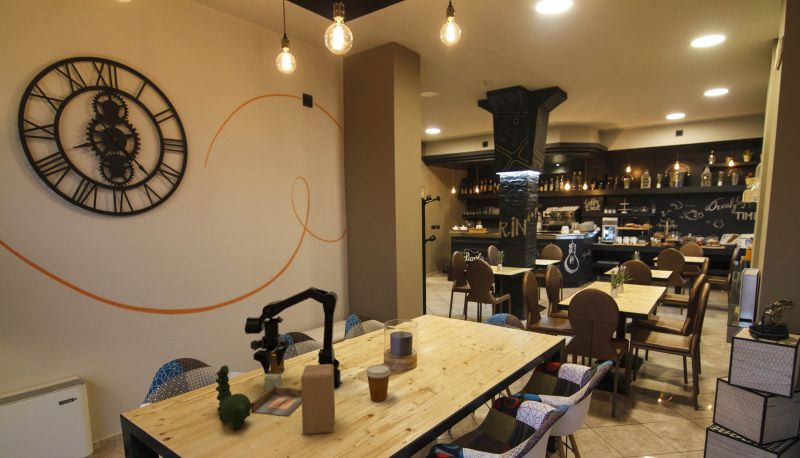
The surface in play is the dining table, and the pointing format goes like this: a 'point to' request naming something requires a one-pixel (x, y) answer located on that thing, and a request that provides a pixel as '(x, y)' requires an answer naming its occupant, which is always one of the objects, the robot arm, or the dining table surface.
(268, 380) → the cube
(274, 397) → the arena
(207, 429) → the dining table surface
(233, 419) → the toy figurine
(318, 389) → the wooden block
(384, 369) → the disposable coffee cup
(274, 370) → the condiment
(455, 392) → the dining table surface
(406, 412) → the dining table surface
